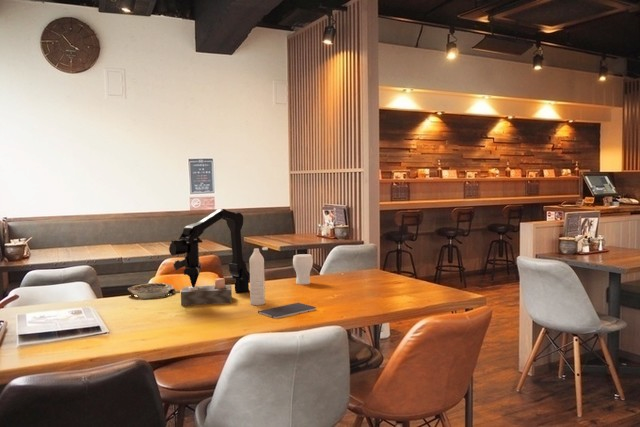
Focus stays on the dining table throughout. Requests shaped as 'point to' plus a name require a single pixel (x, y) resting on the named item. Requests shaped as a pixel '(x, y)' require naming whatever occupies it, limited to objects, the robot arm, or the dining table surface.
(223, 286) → the terracotta peg
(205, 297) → the block
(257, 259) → the water bottle
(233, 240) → the robot arm
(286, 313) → the notebook
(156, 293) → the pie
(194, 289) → the cream peg
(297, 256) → the cup
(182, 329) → the dining table surface
